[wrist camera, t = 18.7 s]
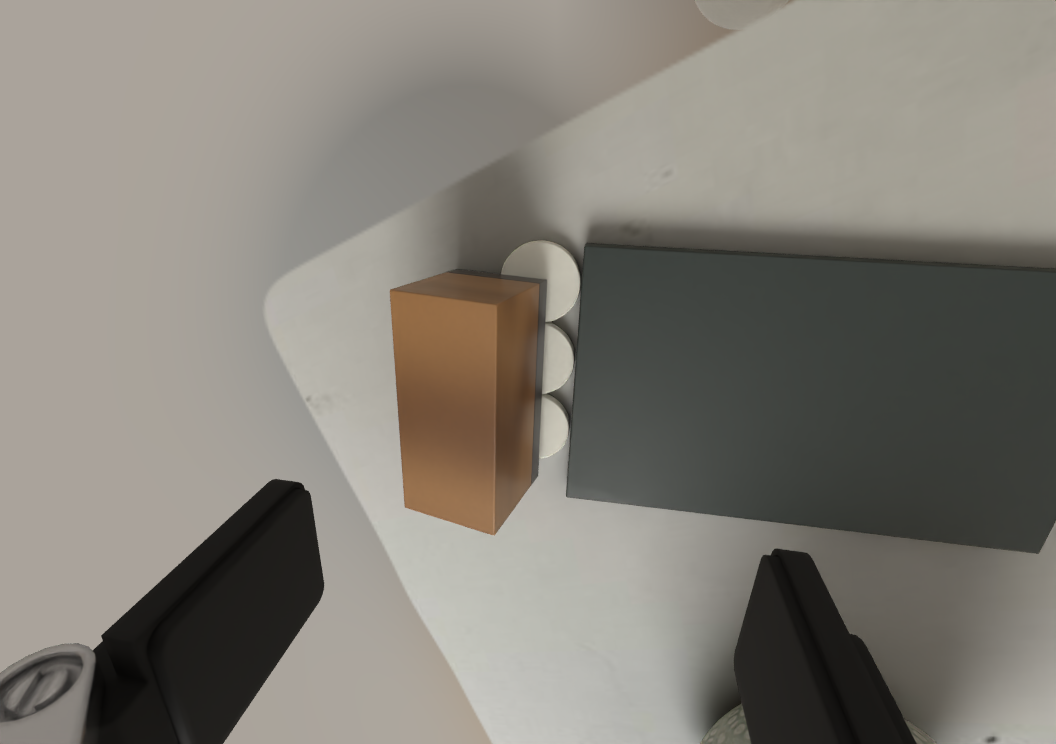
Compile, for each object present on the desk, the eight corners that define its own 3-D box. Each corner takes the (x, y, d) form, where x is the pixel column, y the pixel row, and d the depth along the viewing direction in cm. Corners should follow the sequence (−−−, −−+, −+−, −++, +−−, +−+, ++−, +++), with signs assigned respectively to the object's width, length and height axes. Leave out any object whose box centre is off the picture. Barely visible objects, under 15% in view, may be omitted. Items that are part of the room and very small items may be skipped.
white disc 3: (504, 383, 28) (502, 387, 27) (576, 399, 27) (575, 403, 27) (494, 445, 29) (492, 450, 29) (562, 460, 29) (561, 466, 28)
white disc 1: (486, 279, 26) (483, 282, 25) (541, 222, 24) (539, 223, 24) (541, 334, 26) (539, 338, 26) (598, 282, 25) (597, 284, 24)
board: (585, 242, 24) (584, 245, 23) (1157, 273, 21) (1182, 278, 20) (567, 487, 30) (565, 497, 29) (1024, 541, 26) (1039, 554, 26)
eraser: (456, 268, 26) (389, 289, 21) (547, 279, 24) (497, 304, 19) (459, 455, 30) (404, 507, 25) (538, 475, 28) (494, 536, 23)
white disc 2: (500, 316, 26) (498, 319, 26) (577, 322, 26) (576, 325, 25) (499, 386, 28) (497, 390, 27) (572, 393, 27) (571, 398, 27)
